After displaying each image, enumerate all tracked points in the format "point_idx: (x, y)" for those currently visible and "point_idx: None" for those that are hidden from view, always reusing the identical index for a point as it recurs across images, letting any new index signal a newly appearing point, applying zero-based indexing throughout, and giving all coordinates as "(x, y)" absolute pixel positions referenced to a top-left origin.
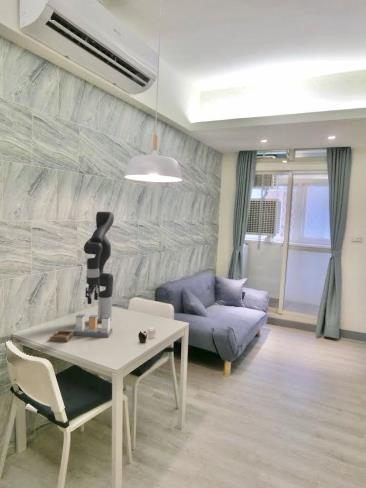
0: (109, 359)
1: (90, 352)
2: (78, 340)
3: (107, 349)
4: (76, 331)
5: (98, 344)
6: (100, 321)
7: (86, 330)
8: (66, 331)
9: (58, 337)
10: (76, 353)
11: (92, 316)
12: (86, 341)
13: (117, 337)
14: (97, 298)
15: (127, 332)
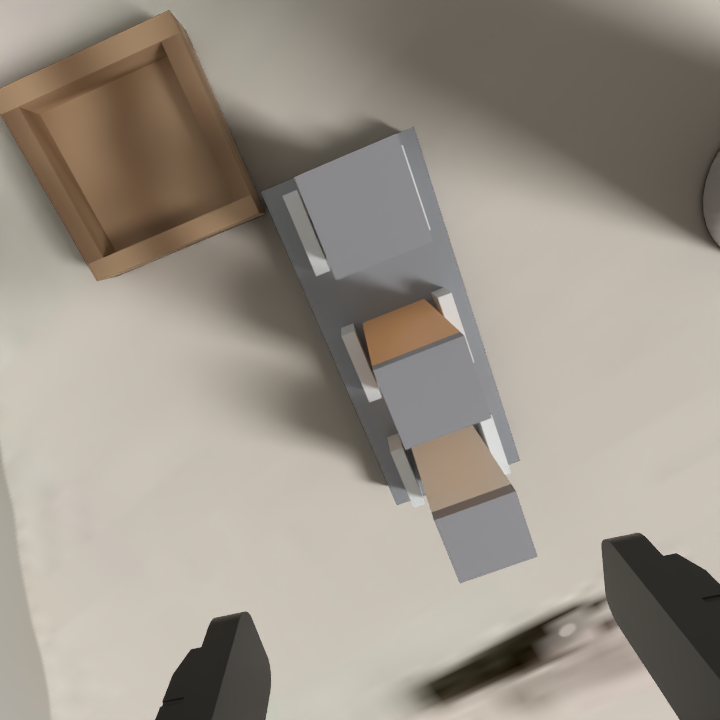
0: (116, 679)
1: (110, 543)
2: (212, 328)
3: (218, 597)
4: (292, 220)
5: (247, 505)
6: (711, 186)
7: (369, 289)
8: (212, 137)
9: (46, 192)
10: (31, 482)
11: (416, 395)
12: (236, 398)
13: (430, 534)
14: (641, 647)
15: (554, 537)
